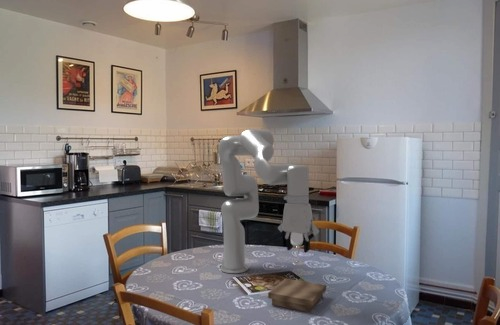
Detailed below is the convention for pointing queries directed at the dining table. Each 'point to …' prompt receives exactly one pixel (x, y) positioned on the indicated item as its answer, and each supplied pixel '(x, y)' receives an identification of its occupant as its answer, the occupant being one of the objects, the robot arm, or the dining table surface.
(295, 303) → the stand
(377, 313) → the dining table surface
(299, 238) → the wineglass
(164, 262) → the dining table surface
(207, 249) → the dining table surface
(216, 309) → the dining table surface
